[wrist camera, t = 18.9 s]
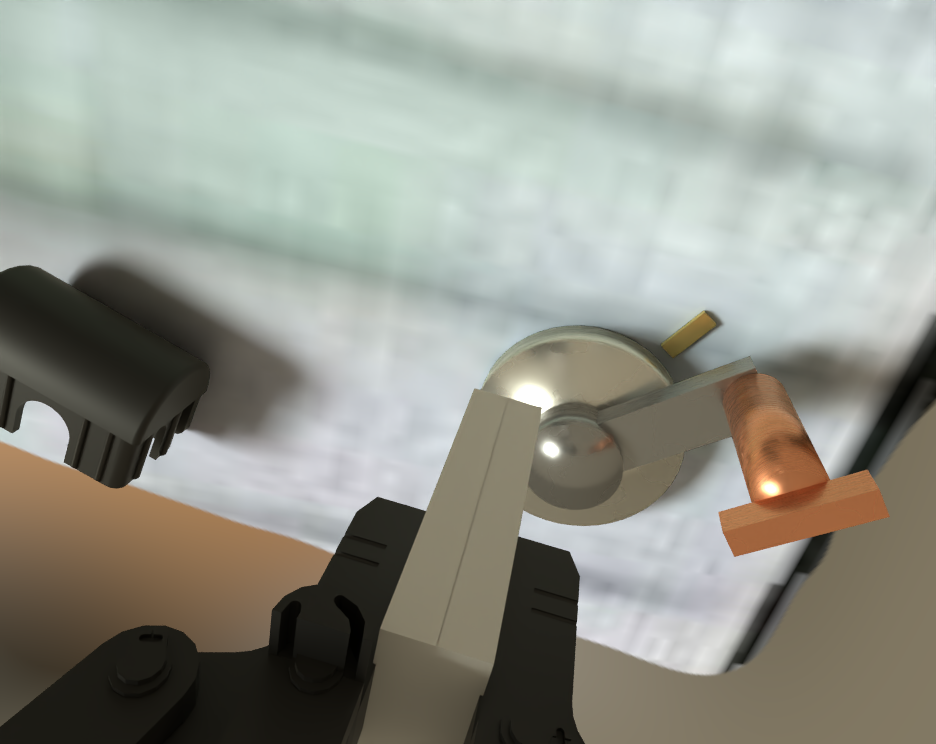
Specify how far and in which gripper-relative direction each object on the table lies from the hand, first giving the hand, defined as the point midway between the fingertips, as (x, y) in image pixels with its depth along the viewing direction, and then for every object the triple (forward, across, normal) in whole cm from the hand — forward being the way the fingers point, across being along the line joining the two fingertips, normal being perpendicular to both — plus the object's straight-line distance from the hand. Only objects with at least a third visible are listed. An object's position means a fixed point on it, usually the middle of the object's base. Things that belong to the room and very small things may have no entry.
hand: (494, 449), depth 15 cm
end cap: (+18, -21, -12) cm, 30 cm away
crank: (+14, +6, -6) cm, 17 cm away
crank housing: (+17, +4, -8) cm, 19 cm away
